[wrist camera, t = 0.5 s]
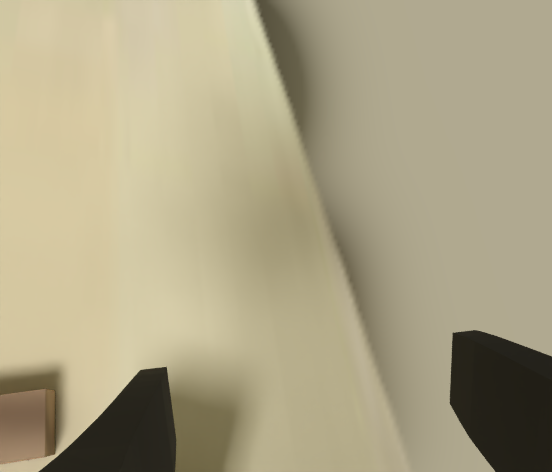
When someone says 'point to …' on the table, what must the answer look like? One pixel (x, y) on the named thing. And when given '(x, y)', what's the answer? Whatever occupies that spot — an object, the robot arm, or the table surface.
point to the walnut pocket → (27, 425)
